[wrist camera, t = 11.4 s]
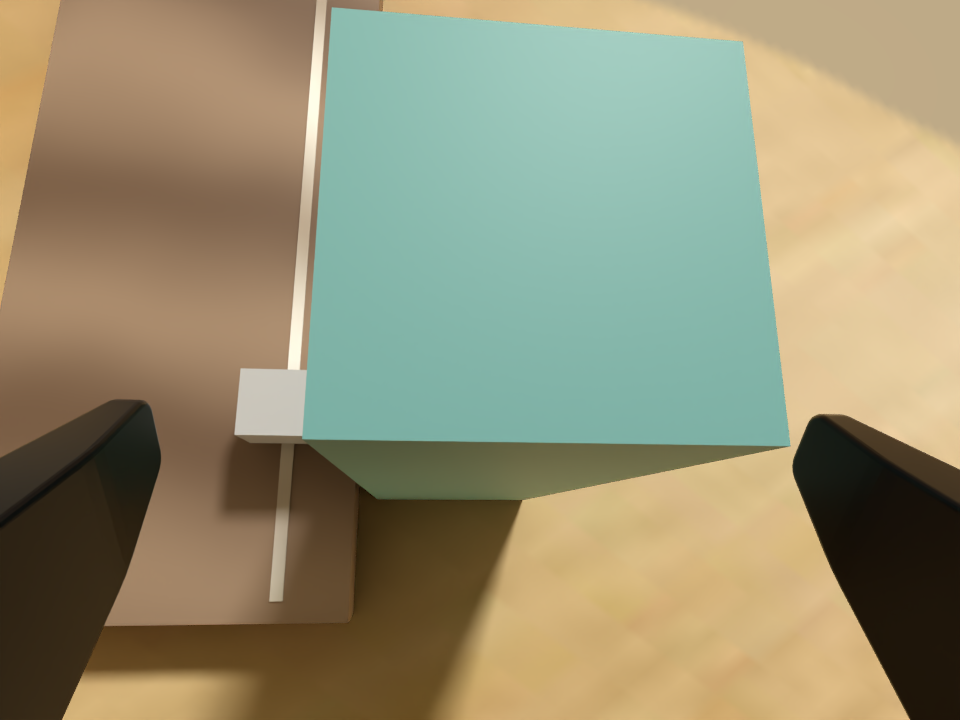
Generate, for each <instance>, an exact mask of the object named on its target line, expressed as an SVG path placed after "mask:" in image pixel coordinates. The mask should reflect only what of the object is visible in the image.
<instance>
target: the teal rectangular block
mask: <svg viewBox="0 0 960 720" xmlns="http://www.w3.org/2000/svg"><path fill="white" fill-rule="evenodd" d="M234 435H236V436H238V437H240V438H242V439H244V440H245V441H247V442H249V443H284V444H309V445H310V446H311V447H312V448H314V449H315V450H316V451H317V452H319V453H320V454H321V455H322V456H324V457H325V458H326V459H327V460H329V461H330V462H331V463H332V464H334V465H335V466H336V467H337V468H339V469H340V470H341V471H342V472H344V473H345V474H346V475H347V476H349V477H350V478H351V479H353V480H354V481H355V482H356V483H358V484H359V485H360V486H361V487H363V488H364V489H365V490H366V491H368V492H369V493H370V494H371V495H373V496H374V497H375V498H376V499H397V500H525V499H530V498H535V497H540V496H545V495H550V494H555V493H560V492H565V491H570V490H575V489H580V488H585V487H590V486H595V485H600V484H605V483H610V482H615V481H620V480H625V479H630V478H635V477H640V476H645V475H650V474H655V473H660V472H665V471H670V470H674V469H679V468H684V467H689V466H694V465H699V464H704V463H709V462H714V461H719V460H724V459H729V458H734V457H739V456H744V455H749V454H754V453H759V452H764V451H769V450H774V449H779V448H784V447H789V446H790V438H789V430H788V421H787V413H786V404H785V396H784V387H783V379H782V370H781V362H780V353H779V345H778V337H777V328H776V320H775V311H774V303H773V294H772V286H771V277H770V269H769V260H768V252H767V243H766V235H765V226H764V218H763V209H762V201H761V192H760V184H759V175H758V167H757V158H756V150H755V141H754V133H753V124H752V116H751V107H750V99H749V90H748V82H747V73H746V65H745V56H744V48H743V42H741V41H729V40H717V39H705V38H693V37H681V36H669V35H657V34H645V33H633V32H621V31H609V30H597V29H585V28H573V27H561V26H549V25H537V24H525V23H513V22H501V21H489V20H477V19H465V18H453V17H441V16H429V15H417V14H405V13H393V12H381V11H369V10H357V9H345V8H333V7H332V11H331V26H330V40H329V55H328V70H327V84H326V99H325V113H324V128H323V142H322V157H321V171H320V186H319V201H318V215H317V230H316V244H315V259H314V273H313V288H312V303H311V317H310V332H309V346H308V361H307V370H286V369H246V368H241V370H240V381H239V391H238V402H237V413H236V423H235V434H234Z"/></svg>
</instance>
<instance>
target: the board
mask: <svg viewBox="0 0 960 720" xmlns="http://www.w3.org/2000/svg"><path fill="white" fill-rule="evenodd" d="M332 7H333V8H345V9H357V10H369V11H381V12H382V10H383V0H61V2H60V7H59V12H58V17H57V22H56V27H55V32H54V37H53V42H52V47H51V53H50V58H49V63H48V68H47V73H46V78H45V83H44V88H43V93H42V98H41V103H40V108H39V114H38V119H37V124H36V129H35V134H34V139H33V144H32V149H31V154H30V159H29V164H28V170H27V175H26V180H25V185H24V190H23V195H22V200H21V205H20V210H19V215H18V220H17V225H16V231H15V236H14V241H13V246H12V251H11V256H10V261H9V266H8V271H7V276H6V281H5V287H4V292H3V297H2V302H1V307H0V457H2V456H4V455H6V454H8V453H9V452H11V451H13V450H15V449H17V448H19V447H21V446H23V445H25V444H27V443H29V442H31V441H33V440H35V439H36V438H38V437H40V436H42V435H44V434H46V433H48V432H50V431H52V430H54V429H56V428H58V427H60V426H62V425H63V424H65V423H67V422H69V421H71V420H73V419H75V418H77V417H79V416H81V415H83V414H85V413H87V412H89V411H90V410H92V409H94V408H96V407H98V406H100V405H102V404H104V403H106V402H108V401H110V400H114V399H132V400H144V401H146V402H147V403H149V405H150V407H151V409H152V412H153V417H154V422H155V426H156V431H157V436H158V440H159V445H160V450H161V465H160V470H159V473H158V477H157V480H156V483H155V486H154V490H153V493H152V496H151V499H150V502H149V506H148V509H147V512H146V515H145V519H144V522H143V525H142V528H141V531H140V535H139V538H138V541H137V544H136V547H135V551H134V554H133V557H132V560H131V563H130V566H129V569H128V572H127V574H126V577H125V579H124V582H123V584H122V586H121V589H120V591H119V593H118V596H117V598H116V600H115V602H114V605H113V607H112V609H111V611H110V614H109V616H108V618H107V620H106V622H105V625H104V626H145V625H222V624H300V623H348V622H349V621H350V619H351V617H352V616H353V610H354V589H355V569H356V548H357V527H358V507H359V486H360V485H359V484H358V483H356V482H355V481H354V480H353V479H351V478H350V477H349V476H347V475H346V474H345V473H344V472H342V471H341V470H340V469H339V468H337V467H336V466H335V465H334V464H332V463H331V462H330V461H329V460H327V459H326V458H325V457H324V456H322V455H321V454H320V453H319V452H317V451H316V450H315V449H314V448H312V447H311V446H310V445H309V444H284V443H249V442H247V441H245V440H244V439H242V438H240V437H238V436H236V435H234V434H235V423H236V413H237V402H238V391H239V381H240V370H241V368H246V369H286V370H307V361H308V346H309V332H310V317H311V303H312V288H313V273H314V259H315V244H316V230H317V215H318V201H319V186H320V171H321V157H322V142H323V128H324V113H325V99H326V84H327V70H328V55H329V40H330V26H331V11H332Z"/></svg>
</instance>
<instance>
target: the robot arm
mask: <svg viewBox="0 0 960 720" xmlns="http://www.w3.org/2000/svg"><path fill="white" fill-rule="evenodd" d="M160 465H161V450H160V445H159V440H158V436H157V431H156V426H155V422H154V417H153V412H152V409H151V407H150V405H149V403H147V402H146V401H144V400H132V399H114V400H110V401H108V402H106V403H104V404H102V405H100V406H98V407H96V408H94V409H92V410H90V411H89V412H87V413H85V414H83V415H81V416H79V417H77V418H75V419H73V420H71V421H69V422H67V423H65V424H63V425H62V426H60V427H58V428H56V429H54V430H52V431H50V432H48V433H46V434H44V435H42V436H40V437H38V438H36V439H35V440H33V441H31V442H29V443H27V444H25V445H23V446H21V447H19V448H17V449H15V450H13V451H11V452H9V453H8V454H6V455H4V456H2V457H0V720H62V718H63V716H64V714H65V712H66V710H67V707H68V705H69V703H70V701H71V698H72V696H73V694H74V692H75V689H76V687H77V685H78V683H79V681H80V678H81V676H82V674H83V672H84V669H85V667H86V665H87V663H88V660H89V658H90V656H91V654H92V651H93V649H94V647H95V645H96V643H97V640H98V638H99V636H100V634H101V631H102V629H103V627H104V625H105V622H106V620H107V618H108V616H109V614H110V611H111V609H112V607H113V605H114V602H115V600H116V598H117V596H118V593H119V591H120V589H121V586H122V584H123V582H124V579H125V577H126V574H127V572H128V569H129V566H130V563H131V560H132V557H133V554H134V551H135V547H136V544H137V541H138V538H139V535H140V531H141V528H142V525H143V522H144V519H145V515H146V512H147V509H148V506H149V502H150V499H151V496H152V493H153V490H154V486H155V483H156V480H157V477H158V473H159V470H160ZM792 466H793V475H794V478H795V481H796V483H797V486H798V488H799V491H800V493H801V496H802V498H803V501H804V503H805V506H806V508H807V511H808V513H809V516H810V518H811V521H812V523H813V526H814V528H815V531H816V533H817V536H818V538H819V541H820V543H821V546H822V548H823V551H824V553H825V555H826V558H827V560H828V562H829V565H830V567H831V569H832V571H833V573H834V575H835V577H836V579H837V581H838V584H839V586H840V587H841V589H842V591H843V593H844V595H845V597H846V599H847V601H848V603H849V605H850V607H851V608H852V610H853V612H854V614H855V616H856V618H857V620H858V622H859V624H860V626H861V627H862V629H863V631H864V633H865V635H866V637H867V639H868V641H869V643H870V645H871V646H872V648H873V650H874V652H875V654H876V656H877V658H878V660H879V662H880V664H881V665H882V667H883V669H884V671H885V673H886V675H887V677H888V679H889V681H890V683H891V685H892V686H893V688H894V690H895V692H896V694H897V696H898V698H899V700H900V702H901V704H902V705H903V707H904V709H905V711H906V713H907V715H908V717H909V719H910V720H960V469H957V468H955V467H953V466H951V465H949V464H947V463H945V462H943V461H941V460H939V459H936V458H934V457H932V456H930V455H928V454H926V453H924V452H922V451H920V450H918V449H916V448H913V447H911V446H909V445H907V444H905V443H903V442H901V441H899V440H897V439H895V438H892V437H890V436H888V435H886V434H884V433H882V432H880V431H878V430H876V429H874V428H872V427H869V426H867V425H865V424H863V423H861V422H859V421H857V420H855V419H853V418H851V417H848V416H846V415H840V414H818V415H816V416H814V417H812V418H811V420H810V421H809V423H808V425H807V427H806V429H805V432H804V434H803V437H802V439H801V442H800V444H799V446H798V449H797V451H796V454H795V456H794V459H793V465H792Z"/></svg>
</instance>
